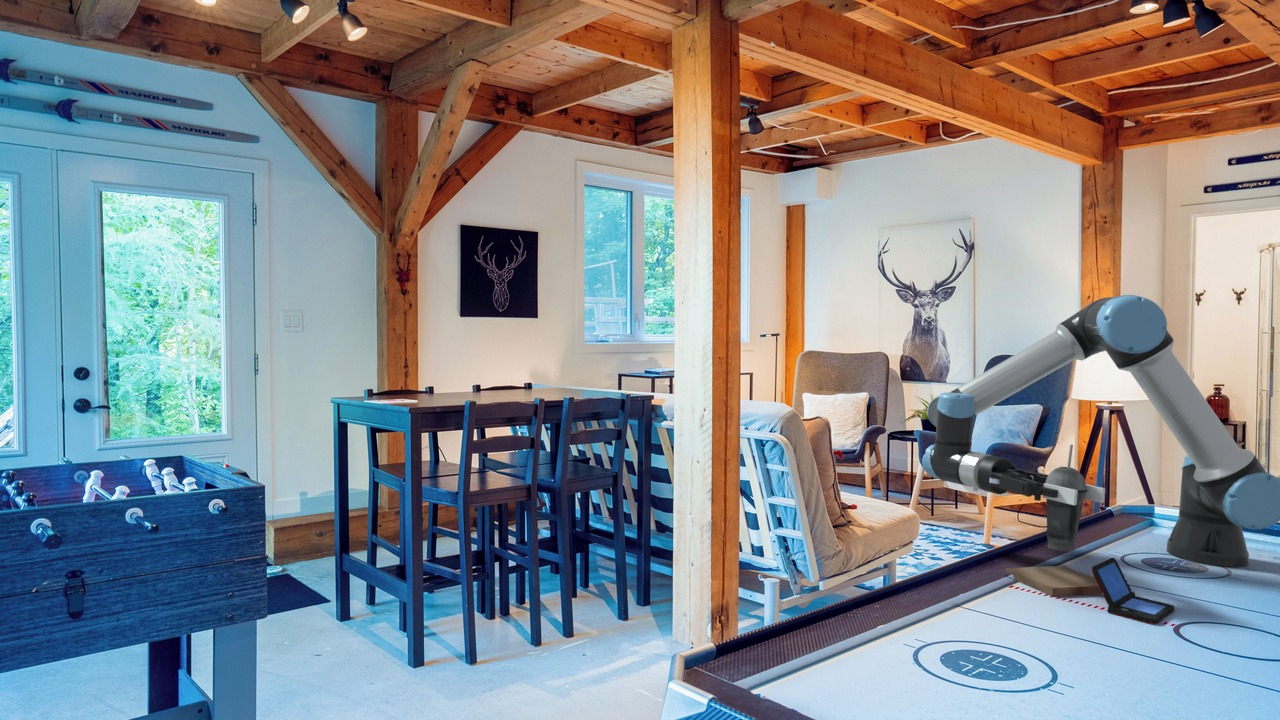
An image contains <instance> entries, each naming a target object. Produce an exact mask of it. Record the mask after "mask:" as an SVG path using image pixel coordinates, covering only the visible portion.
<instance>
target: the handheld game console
mask: <svg viewBox="0 0 1280 720" xmlns="http://www.w3.org/2000/svg"><path fill="white" fill-rule="evenodd" d="M1090 570H1091V574H1092V577H1094V578H1095V580H1096V582H1097V584H1098V586H1099V588H1100V590H1101V592H1102V596H1103V598H1104V600H1105V602H1106V604H1107V605H1108V606H1107V613H1108V614H1111V615H1115V616H1120V617H1122V618H1125V619H1126V618H1127V619H1130V620H1134V621H1138V622H1142V623H1146V624H1150V625H1157V624H1158V623H1160V622H1161V621H1162V620H1164V619H1165V618H1167V617H1168V616H1169V615H1171V614H1172V613H1173V612H1175V610H1176V609H1175V608H1176V607H1175V605H1173V604H1170V603H1166V602H1162V601H1158V600H1154V599H1149V598H1146V597H1141V596H1137V595H1136V594H1135V592H1134V591H1132V588H1131V586H1130V585H1129V583H1128V580H1127V579H1126V577H1125V576H1126V575H1124V573H1123V571H1122V569H1121V567H1120V564H1119V563H1118V561H1117V559H1116V558H1114V557H1109V558H1108V559H1106V560H1104V561H1101V562H1099V563H1097V564H1095V565H1093V566H1091V569H1090Z"/></svg>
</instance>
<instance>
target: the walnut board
mask: <svg viewBox="0 0 1280 720" xmlns="http://www.w3.org/2000/svg"><path fill="white" fill-rule="evenodd" d="M1006 571H1007V572H1009V573H1011V574H1012V575H1013V577H1014V579H1015V581H1016V582H1019V583H1022V584H1023V585H1026V586H1028V587H1029V588H1032V589H1035V590H1036V591H1039V592H1041V593H1044V594H1046V595H1048V596H1050V597H1062V596H1063V597H1065V596H1066V597H1067V596H1080V595H1081V596H1082V595H1097V594H1098V595H1099V594H1102V592H1101V590H1100V588H1099V586H1098V584H1097V582H1096V580H1095V578H1094V576H1093V575H1090V574H1087V573H1083V572H1081V571H1079V570H1076V569H1073V568H1070V567H1068V566H1066V565H1050V566H1026V567H1007V568H1006V569H1005V572H1006ZM1014 579H1013V580H1014ZM1102 595H1103V594H1102Z"/></svg>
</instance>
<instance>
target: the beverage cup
mask: <svg viewBox="0 0 1280 720" xmlns="http://www.w3.org/2000/svg"><path fill="white" fill-rule="evenodd" d="M1073 449H1074V445H1073V444H1069V452H1068V459H1067V466H1059V467H1057V468H1054V469H1053V470H1052V471H1051V472H1050V473H1049V474H1047V475H1048V477H1047V479H1046V483H1047V484H1052V485H1056V486H1060V487H1065V488H1069V489H1074V490H1078V492H1077V504H1076V505H1071V504H1067V503H1063V502H1059V501H1054V500H1050V499H1046V538H1047V539H1046V540H1047V548H1048V549H1052V550H1056V551H1060V552H1073V551H1074V550H1075V546H1076V543H1077V537H1078V536H1077V535H1078V531H1079V525H1080V520H1081V514H1082V508H1083V503H1084V502H1085V499H1084V498H1085V495H1086V492H1087V489H1086V484H1087V482H1086V480H1085V478H1084V476H1083V474H1082V473H1081V472H1080V471H1078V470H1077V469H1076V468H1073V467H1071V463H1072V457H1073Z"/></svg>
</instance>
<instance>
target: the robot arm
mask: <svg viewBox="0 0 1280 720" xmlns="http://www.w3.org/2000/svg"><path fill="white" fill-rule="evenodd" d="M1167 328H1168V320H1167V317H1166V315H1165V312H1164V311H1163V309H1162V308H1161V306H1159V305H1158V304H1157V303H1156V302H1154V301H1153V300H1151V299H1149V298H1147V297H1143V296H1140V295H1135V294H1122V295H1118V296H1108V297H1104V298H1099V299H1097V300H1095V301H1092V302H1091V303H1089V304H1087V305H1086V306H1085V307H1083V308H1082V309H1080V310H1079V311H1077V312H1076V313H1074V314H1073V315H1071V316H1070V317H1068V318H1066V319H1065V320H1064V321H1061V322H1060V323H1058V324H1057V325H1056V328H1055V331H1054V332H1052V333H1050V334H1048V335H1047V336H1045V337H1043V338H1042V339H1040V340H1038V341H1036V342H1034V343H1033V344H1031V345H1029V346H1027V347H1026V348H1024V349H1022V350H1020V351H1019V352H1017V353H1015V354H1013V355H1012V356H1010V357H1009V358H1007V359H1005V360H1003V361H1002V362H1000V363H998V364H996V365H995V366H992V367H991V368H989V369H987V370H986V371H984V372H982V373H980V374H979V375H977V376H975V377H973V378H972V379H970V380H969V381H967V382H965V383H964V384H962V385H960V386H958V387H957V388H956V389H953V390H951V391H949V392H941V393H940V394H939V396H937V397H934V398H933V399H932V400H931V401H930V402H929V403H928V406H927V411H926V412H927V417H928V420H929V422H930V423H931V424H932V425H933V426H934V427H935V428H936V429H935V430H936V431H935V441H934V444H931V445H929V446H928V447H927V448H925V451H924V452H925V453H924V454H923V456H922V457H921V458H922V459H921V460H922V461H921V462H922V467H923V470H924V471H925V472H926V474H927V475H928V476H930V477H932V478H935V479H938V480H941V481H942V482H948V483H953V484H955V485H956V484H957V485H961V486H965V487H969V488H972V491H974V492H977V491H978V490H982V491H984V492H987V493H992V494H995V495H1004V494H1005V493H1007V492H1011V493H1015V494H1018V495H1021V496H1025V497H1028V498H1029V497H1032V496H1033V497H1034V498H1033V499H1034V501H1038V502H1039V501H1041V500H1042V498H1043V499H1046V500H1047V499H1050V500H1054V501H1059V502H1063V503H1067V504H1071V505H1076V504H1077V492H1078V490H1074V489H1069V488H1065V487H1060V486H1056V485H1052V484H1047V483H1046V479H1047V477H1048V475H1049V474H1044V473H1042V472H1037V471H1035V470H1034V471H1026V470H1025V469H1021V468H1015V466H1014V464H1013V463H1012V461H1011V460H1009V459H1008V458H1004V457H999V456H996V455H991V454H987V453H983V452H978V451H972V443H973V430H974V421H975V420H974V419H975V417H976V416H978V415H979V414H980V413H982V412H984V411H986V410H988V409H990V408H992V407H993V406H995V405H996V404H999V403H1000V402H1002V401H1004V400H1006V399H1007V398H1010V396H1013V395H1015V394H1016V393H1018V392H1021V391H1022V390H1023V389H1025V388H1027V387H1029V386H1031V385H1032V384H1034V383H1036V382H1037V381H1040V380H1041V379H1043V378H1045V377H1046V376H1048V375H1050V374H1052V373H1054V372H1056V371H1057V370H1058V369H1061V368H1063V367H1064V366H1067V365H1069V363H1072V362H1073V361H1075V360H1078V361H1084V360H1086V359H1089V357H1091V356H1093V355H1096V354H1100V353H1103V352H1106V353H1107V355H1108V356H1109V357H1110V359H1111V360H1112V362H1113V363H1114V365H1115V366H1116V367H1117V369H1118V370H1121V371H1126V372H1129V373H1131V375H1132V377H1133V379H1134V380H1135V381H1136V383H1137V385H1139V387H1140V388H1141V390H1142V391H1143V392H1144V394H1145V396H1146V397H1147V398H1148V400H1149V401H1150V403H1151V405H1153V407H1154V409H1156V411H1157V413H1158V414H1159V416H1160V418H1162V420H1163V421H1164V422H1165V425H1166V426H1167V427H1168V429H1169V430H1170V432H1171V433H1172V434H1173V436H1174V437H1175V438H1176V440H1177V441H1178V443H1179V445H1180V446H1181V447H1182V449H1183V450H1184V452H1185V453H1186V455H1185V457H1184V458H1183V463H1182V467H1181V471H1182V473H1181V482H1180V483H1181V484H1180V494H1179V495H1180V499H1179V508H1178V509H1179V511H1178V518H1177V521H1176V522H1175V525H1174V526H1173V529H1172V531H1171V534H1170V536H1169V538H1168V539H1167V543H1166V551H1167V553H1169V554H1171V555H1173V556H1176V557H1178V558H1181V559H1184V560H1187V561H1192V562H1197V563H1201V564H1206V565H1211V566H1212V565H1213V566H1223V567H1230V568H1231V567H1233V568H1235V567H1237V568H1238V567H1239V568H1240V567H1246V566H1248V565H1249V561H1250V560H1249V559H1250V554H1249V551H1248V548H1247V543H1246V539H1245V535H1244V531H1243V528H1246V529H1248V530H1249V529H1251V530H1262V529H1267V528H1270V527H1272V526H1275V525H1276V524H1278V523H1279V522H1280V479H1279V478H1278V477H1276V476H1275V475H1274V474H1272V473H1268V472H1267V471H1266V469H1265V468H1264V466H1263V464H1261V462H1260V460H1259V459H1258V458H1257V456H1256V455H1255V454H1254V453H1253V451H1252V450H1249V449H1244V448H1242V447H1240V446H1239V445H1238V444H1237V443H1236V441H1235V439H1234V438H1233V437H1232V436H1231V434H1230V433H1229V431H1228V430H1227V429H1226V427H1225V425H1224V424H1223V422H1221V420H1220V418H1219V416H1218V415H1217V414H1216V413H1215V411H1214V410H1213V408H1212V407H1211V405H1210V404H1209V403H1208V401H1207V399H1206V398H1205V397H1204V395H1203V394H1202V393H1201V391H1200V390H1199V388H1198V387H1197V386H1196V384H1195V382H1194V381H1193V380H1192V378H1191V377H1190V375H1189V373H1187V371H1186V369H1184V367H1183V365H1182V364H1181V362H1180V361H1179V359H1178V358H1177V357H1176V355H1175V354H1174V353H1173V347H1174V343H1175V339H1174V338H1173V336H1172V335H1171V334H1170V332H1169V330H1168V329H1167ZM1086 489H1087V492H1086V495H1085V498H1084V500H1088V501H1091V502H1096V503H1100V504H1104V503H1105V497H1106V496H1105V495H1106V488H1104V487H1102V486H1101V487H1100V486H1095V485H1091V484H1087V483H1086Z"/></svg>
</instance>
